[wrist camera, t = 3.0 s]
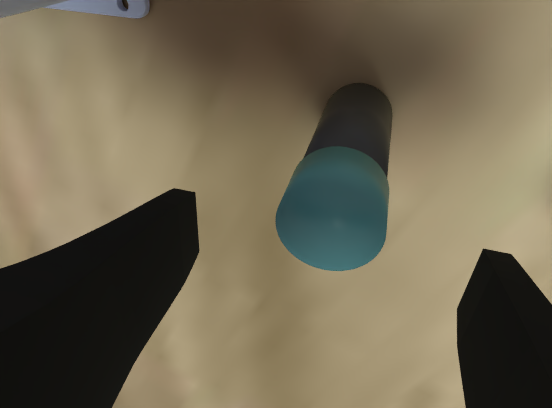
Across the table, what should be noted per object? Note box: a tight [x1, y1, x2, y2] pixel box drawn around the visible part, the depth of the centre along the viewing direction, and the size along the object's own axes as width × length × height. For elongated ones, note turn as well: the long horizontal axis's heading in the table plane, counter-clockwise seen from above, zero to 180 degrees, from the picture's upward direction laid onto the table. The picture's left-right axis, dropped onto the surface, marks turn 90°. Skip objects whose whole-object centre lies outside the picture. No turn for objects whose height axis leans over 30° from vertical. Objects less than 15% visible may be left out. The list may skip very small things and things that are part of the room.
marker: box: [276, 83, 392, 271], centre depth 15 cm, size 3×3×8 cm
